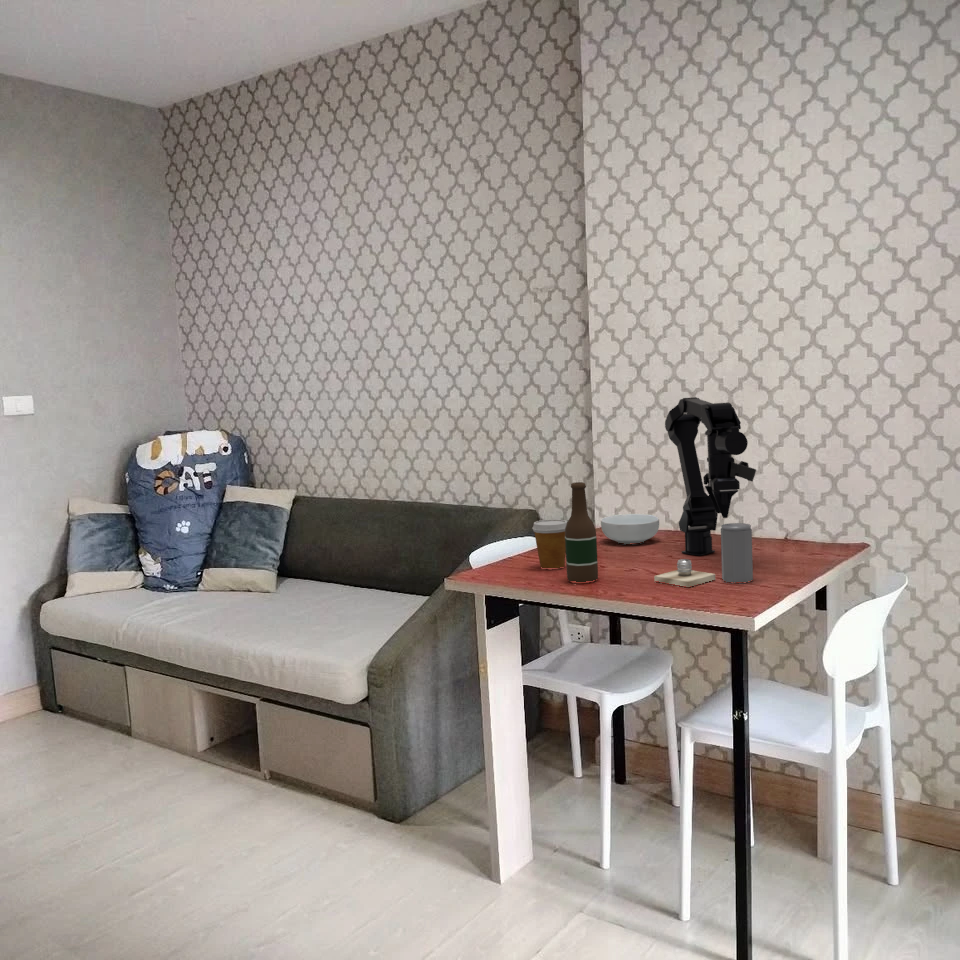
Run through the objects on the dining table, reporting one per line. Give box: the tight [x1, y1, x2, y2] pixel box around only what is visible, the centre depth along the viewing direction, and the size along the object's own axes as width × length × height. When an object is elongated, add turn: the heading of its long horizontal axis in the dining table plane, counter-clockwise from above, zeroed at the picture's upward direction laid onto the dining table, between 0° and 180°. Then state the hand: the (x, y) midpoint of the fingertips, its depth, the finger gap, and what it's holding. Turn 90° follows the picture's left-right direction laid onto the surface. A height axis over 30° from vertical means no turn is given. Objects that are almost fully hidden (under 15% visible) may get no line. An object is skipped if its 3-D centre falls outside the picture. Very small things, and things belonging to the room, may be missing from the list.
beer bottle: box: [565, 481, 599, 582], centre depth 229 cm, size 8×8×24 cm
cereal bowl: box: [600, 513, 660, 545], centre depth 276 cm, size 17×17×7 cm
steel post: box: [676, 558, 693, 576], centre depth 224 cm, size 3×3×4 cm
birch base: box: [653, 569, 716, 587], centre depth 224 cm, size 10×10×2 cm
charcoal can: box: [720, 522, 754, 584], centre depth 221 cm, size 7×7×13 cm
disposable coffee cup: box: [532, 519, 568, 568], centre depth 247 cm, size 10×10×12 cm
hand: (722, 515), depth 238 cm, fingers open, 9 cm apart
